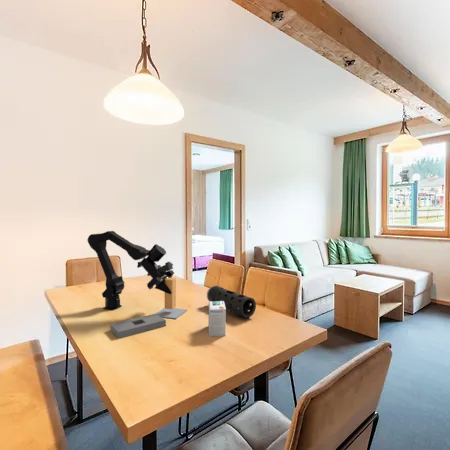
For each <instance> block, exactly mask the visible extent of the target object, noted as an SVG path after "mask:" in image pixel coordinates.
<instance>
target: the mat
mask: <svg viewBox="0 0 450 450" xmlns="http://www.w3.org/2000/svg"><path fill="white" fill-rule="evenodd" d="M186 312H188V309H185V308H177V307H175V308H174V309H165V307H164V308H162V309H161V310H158V311H157V312H155V313H154V314H157V315H158V316H160V317H162V318H163V319H165V318H166V319H173V320H177V319H178V318H179V317H180V316H182V315H183V314H185V313H186Z"/></svg>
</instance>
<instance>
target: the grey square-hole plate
mask: <svg viewBox="0 0 450 450" xmlns="http://www.w3.org/2000/svg"><path fill="white" fill-rule="evenodd" d="M166 323H167V320H166V319H165V318H163V317H160V316H158V315H157V314H155V313H152V314H148V315H144V316H140V317H135V318H132V319H127V320H122V321H117V322H113V323H110V324H109V327H110V328H109V330H110V332H112V334H113V335H114V336H115V337H118V338H119V339H122V338H125V337H129V336H133V335H137V334H141V333H146V332H148V331H151V330H157V329H159V328H163V327H166V326H167V324H166ZM118 338H117V339H118Z"/></svg>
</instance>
